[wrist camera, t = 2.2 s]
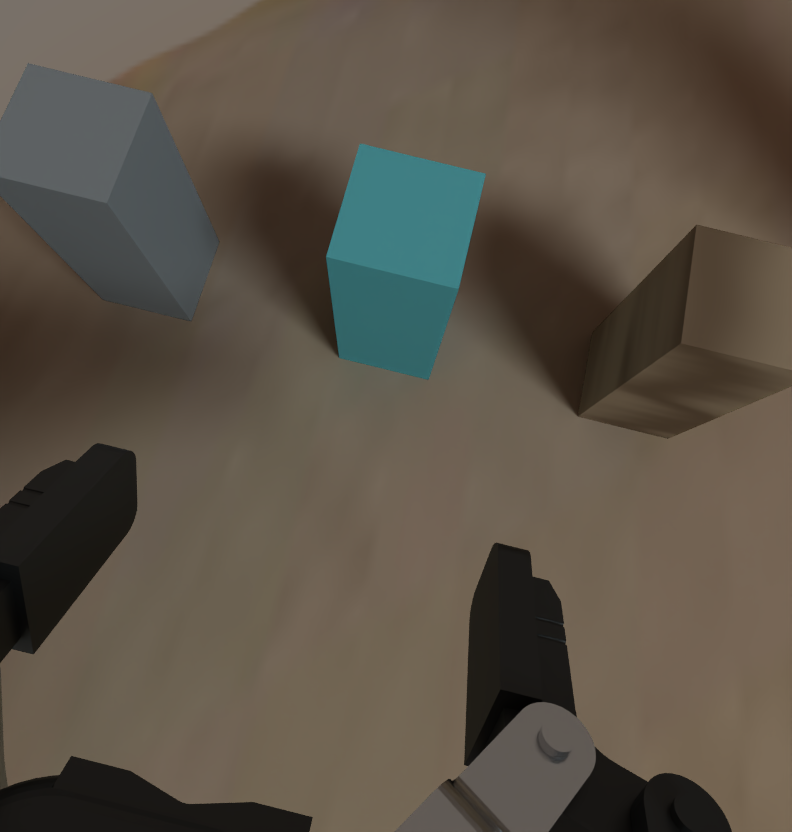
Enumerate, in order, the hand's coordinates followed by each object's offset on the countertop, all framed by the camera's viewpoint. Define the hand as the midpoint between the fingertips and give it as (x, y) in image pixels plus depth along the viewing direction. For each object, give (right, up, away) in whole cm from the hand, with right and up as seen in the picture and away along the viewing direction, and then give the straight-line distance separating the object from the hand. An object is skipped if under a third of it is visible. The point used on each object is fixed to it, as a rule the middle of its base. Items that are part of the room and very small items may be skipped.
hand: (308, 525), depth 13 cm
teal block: (+2, +7, +17) cm, 18 cm away
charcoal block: (-10, +10, +17) cm, 22 cm away
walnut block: (+14, +4, +17) cm, 22 cm away
